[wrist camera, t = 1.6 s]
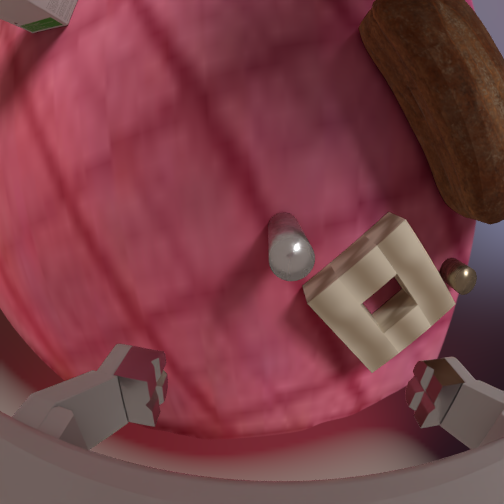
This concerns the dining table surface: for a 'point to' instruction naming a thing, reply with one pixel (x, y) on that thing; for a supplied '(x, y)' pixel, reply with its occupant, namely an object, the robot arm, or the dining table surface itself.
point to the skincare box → (37, 13)
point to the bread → (446, 95)
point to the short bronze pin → (458, 275)
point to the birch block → (371, 280)
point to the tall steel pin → (289, 248)
